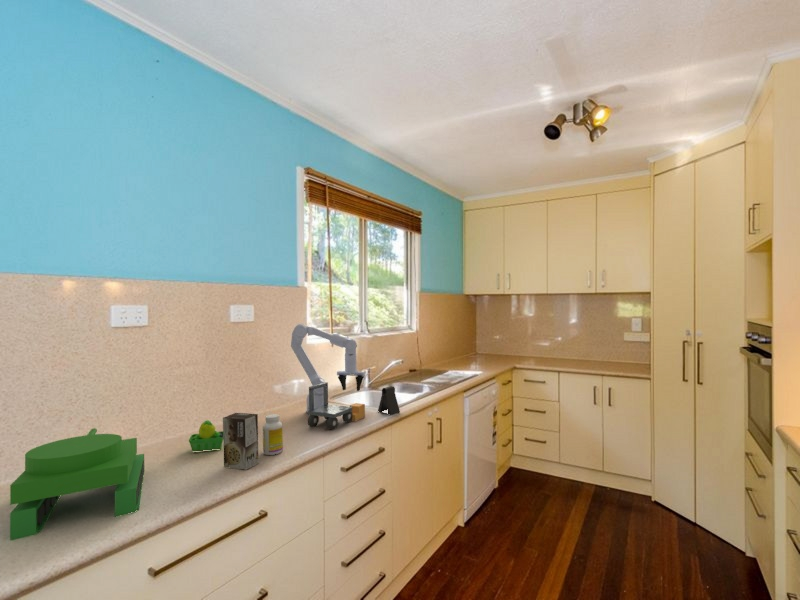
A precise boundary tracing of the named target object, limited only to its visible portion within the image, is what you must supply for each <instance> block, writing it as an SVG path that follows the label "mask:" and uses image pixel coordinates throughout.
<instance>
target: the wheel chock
mask: <svg viewBox="0 0 800 600" xmlns="http://www.w3.org/2000/svg"><path fill="white" fill-rule="evenodd" d="M349 407H352V411H351V412H352V415H353V416H352V420H353V421H352V422H357V421H359V420H362V419H363V417H364V418H365V417H366V404H365V403H359V402H355V403H352V404H350V405H349ZM358 419H359V420H358ZM356 420H357V421H356Z"/></svg>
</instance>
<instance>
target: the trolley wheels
mask: <svg viewBox="0 0 800 600" xmlns="http://www.w3.org/2000/svg"><path fill="white" fill-rule="evenodd" d="M352 416H353V415H352V412H351V411H350V412H348V413H346V414H343V415H341V417H342V418H341V419H342V421H343V423H348V422H349V423H351V422H352V421H351V420H352ZM323 418H324V419H325V420H326V428H327V429H328V430H332V431H333V430H336V429H337V428H338V424H339V420H338V417H336V418H330V417H323ZM350 421H351V422H350ZM319 422H320V416H315V415H308V419H307V425H308V426H309V427H312V428H313V427H317V426H318V425H319Z"/></svg>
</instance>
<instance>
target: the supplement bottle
mask: <svg viewBox="0 0 800 600" xmlns="http://www.w3.org/2000/svg"><path fill="white" fill-rule="evenodd" d="M283 434H284V433H283V423H282V422H281V421H280V415H279V414H276V413H274V414H268V415H266V416H265V423H264V424H263V425H262V451H263V454H264V455H267V456H275V454H276V455H278V454H281V453H282V452H283V451H284V441H283V439H284V438H283V437H284V435H283Z"/></svg>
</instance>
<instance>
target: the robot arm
mask: <svg viewBox="0 0 800 600" xmlns="http://www.w3.org/2000/svg"><path fill="white" fill-rule="evenodd" d="M306 336H308V337H309V336H316V337H320V338H323V339H325V340H328V341H329V343H330V344H331V345H335V346H337V347H340V348H342V349H343V348H344V349H345V351H344V370H338V371H336V376H337V379H338V380H339V382H340V385H341V389H342V391H345V390H347V382H346V381H347V376H348V377H349V376H350V377H351V376H352V377H353V376H355V382H356V392H359V391H361V387H362V382H363V380H364V378H365V377H366V371H358V370H357V367H358V366H357V363H358V362H357V347H358V344H357V341H356V340H355V339H353V338H351V337H350V336H348V335H347V336H345V335H343V334H341V333H340V332H334V333H330V332H328V331H324V330H322V329H320V328H317V327H315V326H312V325H307V324H306V325H305V324H303V323H299V324H297V325H295V327H294V328H293V331H292V334H291V341H290V347H291V349H292V351H293V353H294V354H295V356H296V358H297V360H298V362H299V363H300V364H301V367H302V369H303V370H304V372H305V373H306V375H307V377H308V379H309V382H310V384H311V386H314V385H317V384H321V383H324V382H326V381H325V379H323V378H321V375H319V373H318V371H317V370H316V368H315V366H314V364H313V363H312V361H311V359H310V358H309V356H308V354H307V352H306V351H305V349H304V346H302V343H303V341H304V338H305V337H306ZM323 405H324V390H323V387H321V388H318V389H315V390H314V409H315V408H317V407H320V406H323ZM308 411H309V393H308V394H307V396H306V410H305V413H308Z"/></svg>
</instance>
